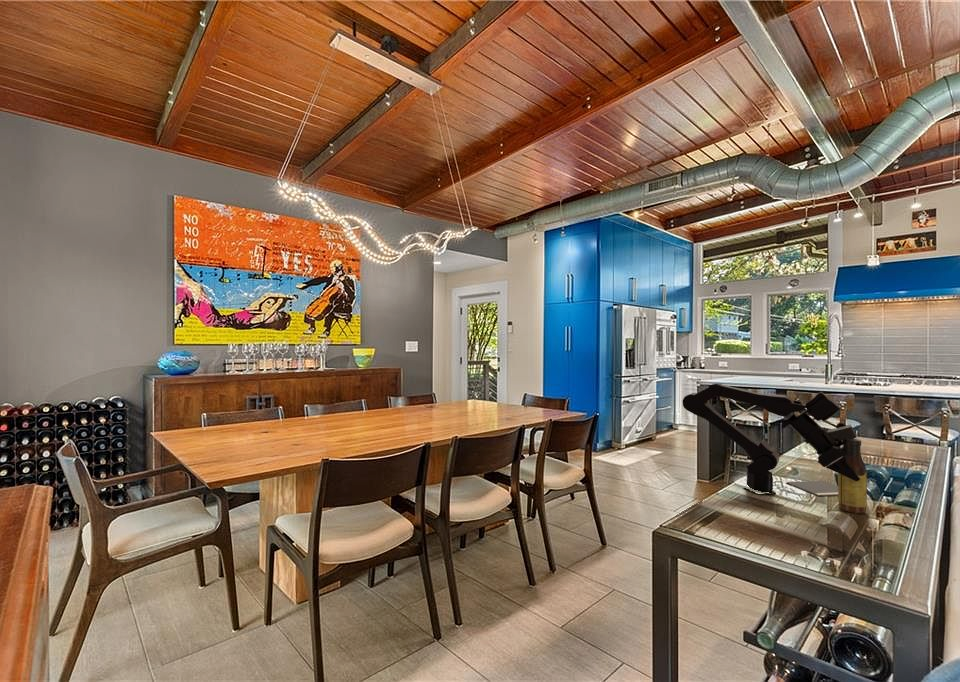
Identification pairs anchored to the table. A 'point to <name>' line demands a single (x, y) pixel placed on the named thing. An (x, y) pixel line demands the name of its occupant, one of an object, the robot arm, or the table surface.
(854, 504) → the sauce bottle
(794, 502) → the table surface
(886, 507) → the table surface
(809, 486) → the mat
